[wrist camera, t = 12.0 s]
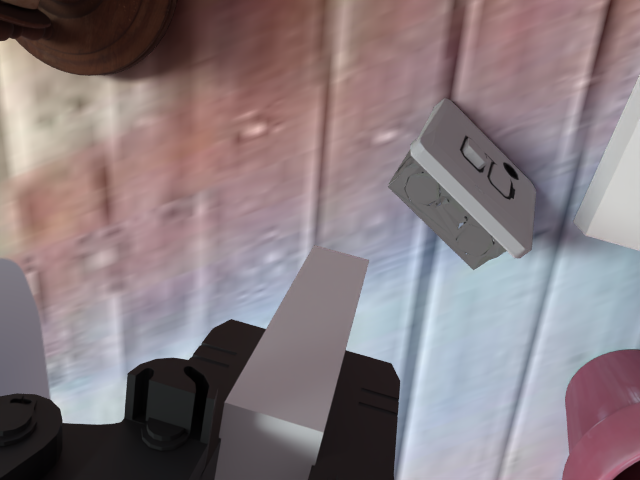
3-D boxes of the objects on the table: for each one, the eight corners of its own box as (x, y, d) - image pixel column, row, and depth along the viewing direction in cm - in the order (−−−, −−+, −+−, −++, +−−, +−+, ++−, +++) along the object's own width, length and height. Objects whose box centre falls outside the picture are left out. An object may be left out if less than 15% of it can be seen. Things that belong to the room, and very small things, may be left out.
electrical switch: (537, 186, 37) (557, 236, 28) (480, 231, 39) (484, 289, 31) (445, 93, 36) (439, 118, 27) (393, 145, 38) (373, 182, 30)
